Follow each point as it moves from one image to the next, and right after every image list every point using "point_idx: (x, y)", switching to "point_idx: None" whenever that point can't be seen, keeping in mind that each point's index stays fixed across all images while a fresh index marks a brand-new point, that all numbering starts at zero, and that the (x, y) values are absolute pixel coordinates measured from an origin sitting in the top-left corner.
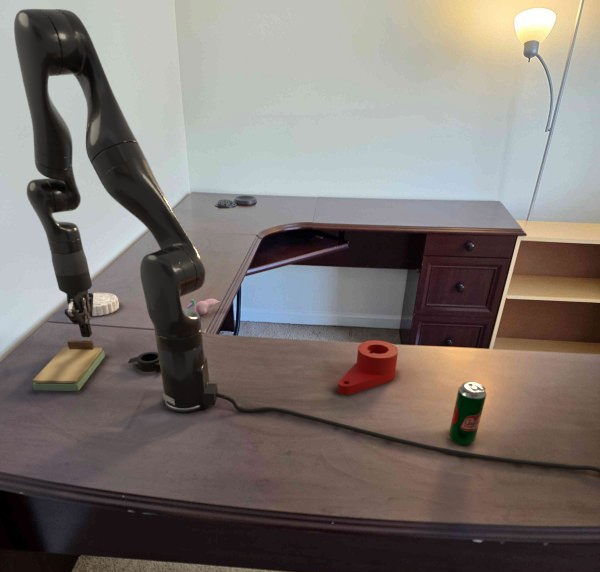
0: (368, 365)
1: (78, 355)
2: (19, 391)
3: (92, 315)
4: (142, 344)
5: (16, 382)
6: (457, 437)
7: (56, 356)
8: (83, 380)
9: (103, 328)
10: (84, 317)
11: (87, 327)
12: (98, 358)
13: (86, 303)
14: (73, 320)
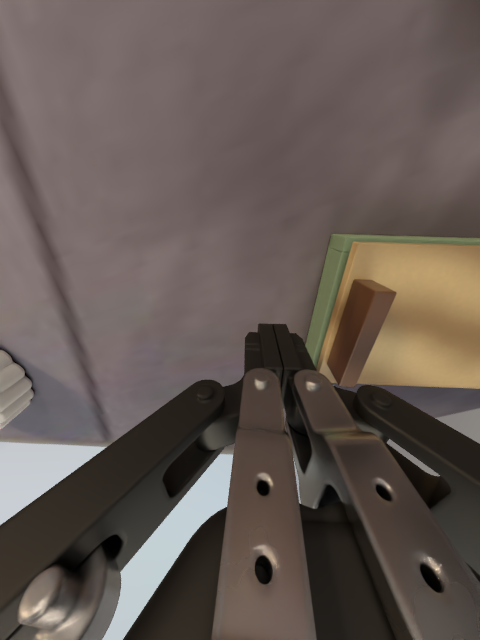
0: None
1: (413, 319)
2: (474, 393)
3: (23, 373)
4: (195, 52)
5: (420, 409)
6: None
7: (391, 381)
8: None
9: (89, 317)
10: (353, 422)
11: (295, 355)
12: (418, 238)
13: (312, 612)
14: (407, 465)
